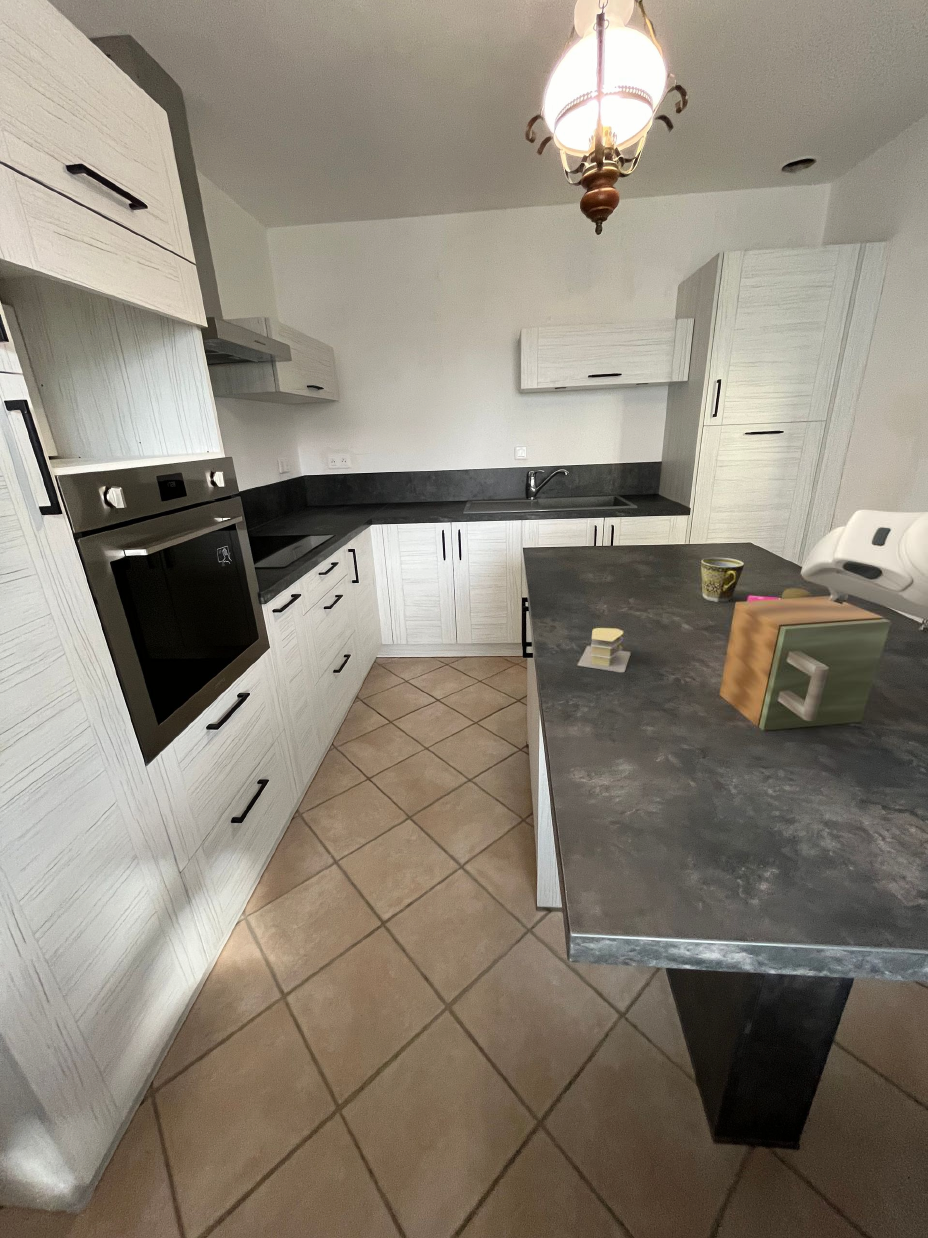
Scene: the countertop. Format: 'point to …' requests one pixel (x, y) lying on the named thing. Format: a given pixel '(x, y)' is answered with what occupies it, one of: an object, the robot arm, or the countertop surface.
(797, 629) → the door
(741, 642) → the cupboard
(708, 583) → the ceramic cup
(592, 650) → the stacked layers on plate
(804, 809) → the countertop surface
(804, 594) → the olive rounded oblong
